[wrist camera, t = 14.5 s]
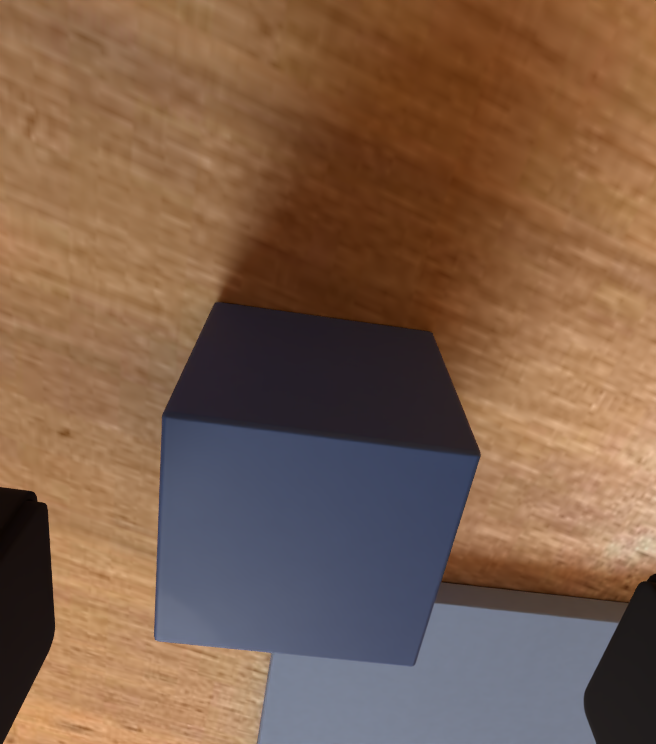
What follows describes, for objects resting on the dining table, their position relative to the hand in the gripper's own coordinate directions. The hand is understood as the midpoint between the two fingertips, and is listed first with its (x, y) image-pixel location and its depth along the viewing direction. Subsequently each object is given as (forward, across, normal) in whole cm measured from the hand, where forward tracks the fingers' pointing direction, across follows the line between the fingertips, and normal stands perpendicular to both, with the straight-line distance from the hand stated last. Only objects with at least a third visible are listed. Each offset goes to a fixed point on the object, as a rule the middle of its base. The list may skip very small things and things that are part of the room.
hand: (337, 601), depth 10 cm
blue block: (+6, +1, 0) cm, 6 cm away
